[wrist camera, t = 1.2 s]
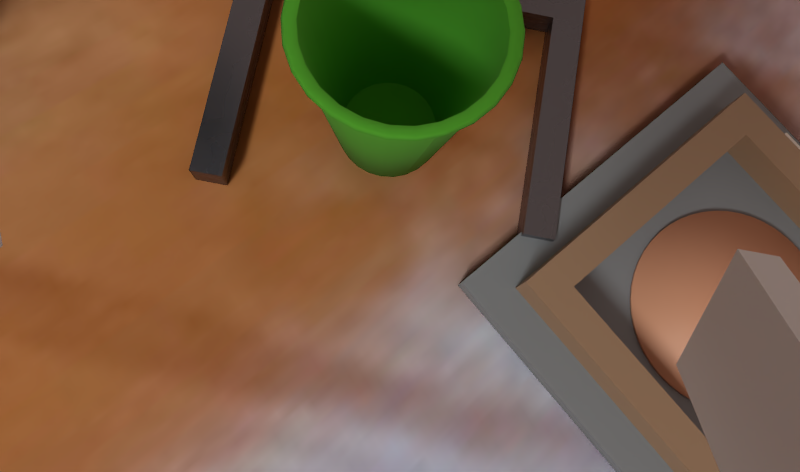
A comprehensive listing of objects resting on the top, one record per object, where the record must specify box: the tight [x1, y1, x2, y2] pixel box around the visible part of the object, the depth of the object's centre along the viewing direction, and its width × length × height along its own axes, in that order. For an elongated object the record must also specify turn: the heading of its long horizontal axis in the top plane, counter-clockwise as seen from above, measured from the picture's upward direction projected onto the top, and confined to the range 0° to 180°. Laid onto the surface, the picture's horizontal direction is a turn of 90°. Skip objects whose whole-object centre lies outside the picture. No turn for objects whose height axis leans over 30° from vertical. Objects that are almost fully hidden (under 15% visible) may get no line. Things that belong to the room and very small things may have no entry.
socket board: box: [458, 62, 800, 472], centre depth 33 cm, size 19×19×3 cm
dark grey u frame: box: [189, 0, 586, 242], centre depth 35 cm, size 14×18×2 cm
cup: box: [281, 0, 525, 177], centre depth 30 cm, size 9×9×11 cm
